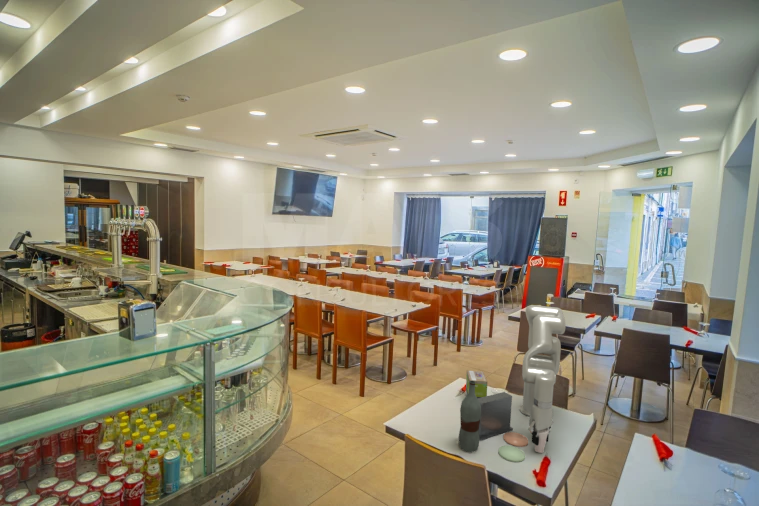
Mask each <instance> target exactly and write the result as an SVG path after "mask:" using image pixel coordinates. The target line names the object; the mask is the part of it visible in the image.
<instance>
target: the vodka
mask: <svg viewBox="0 0 759 506" xmlns="http://www.w3.org/2000/svg"><path fill="white" fill-rule="evenodd" d="M459 413H460V417H459V418H460V428H459V431H458V432H459V433H458V444H459V448H460V449H461V450H462V451H464V452H468V453H474V452H477V451H478V449H479V446H480V442H481V441H480V439H479V424H480V417H481V405H480V403H479V401H478V399H477V397H476V395H475V381H469V393H468V394H467V396H466V395H465V397H464V398H463V400H462V401H461V403H460V408H459Z"/></svg>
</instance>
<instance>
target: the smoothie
mask: <svg viewBox="0 0 759 506" xmlns="http://www.w3.org/2000/svg"><path fill="white" fill-rule="evenodd" d="M535 428H536V427H535ZM535 432H537V430H535ZM548 434H549V435H550V432H549V433H548V430H547V429H543V430H540V431H539V435H538V437H539V444H538V445H535V444H534V443H533V444H534V451H535V452H536V453H540V454H542V453H544V451H545V447H546V443H547V442H546V439H547V435H548Z"/></svg>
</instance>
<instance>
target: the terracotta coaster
mask: <svg viewBox="0 0 759 506" xmlns="http://www.w3.org/2000/svg"><path fill="white" fill-rule="evenodd" d="M502 438H503V441H504V442H505V443H506V444H508V445H509V446H514V447H517V448H524V447H527V446H528V444H529V439H528V437H526V436H525V435H524V434H523V433H518V432H515V431H510V432H507V433H504V434H503V437H502Z"/></svg>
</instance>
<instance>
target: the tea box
mask: <svg viewBox="0 0 759 506" xmlns="http://www.w3.org/2000/svg"><path fill="white" fill-rule="evenodd" d="M465 375H466V378H465V379H466V381H465V397H466V396H467V394H468V393H469V381H475V395H476V397H477V398H482V397H486V396H488V380H487V377H486V375H485V372H484V371H483V370H482V371H481V370H480V371H479V370H466V374H465Z"/></svg>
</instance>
